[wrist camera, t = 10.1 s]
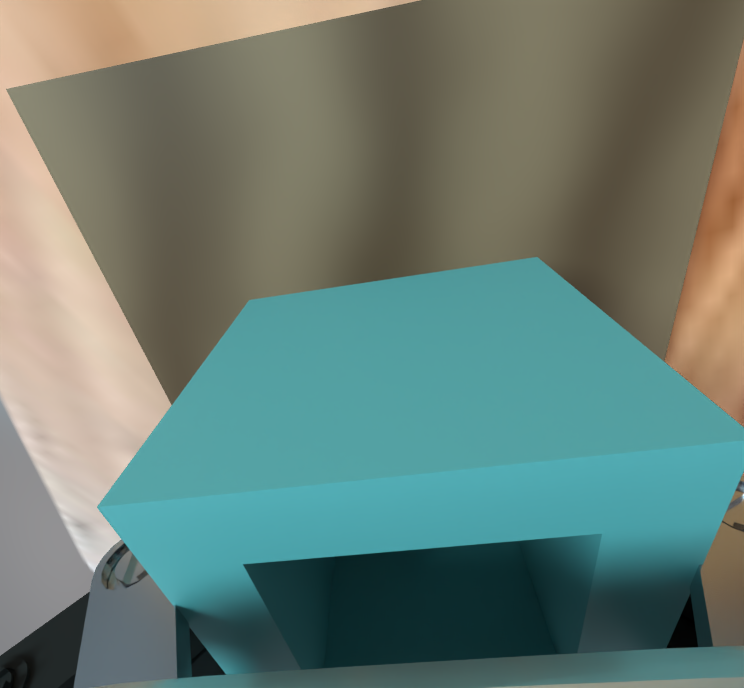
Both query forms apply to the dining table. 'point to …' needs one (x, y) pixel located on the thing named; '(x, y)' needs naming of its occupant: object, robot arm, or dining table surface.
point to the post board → (396, 158)
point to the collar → (429, 478)
